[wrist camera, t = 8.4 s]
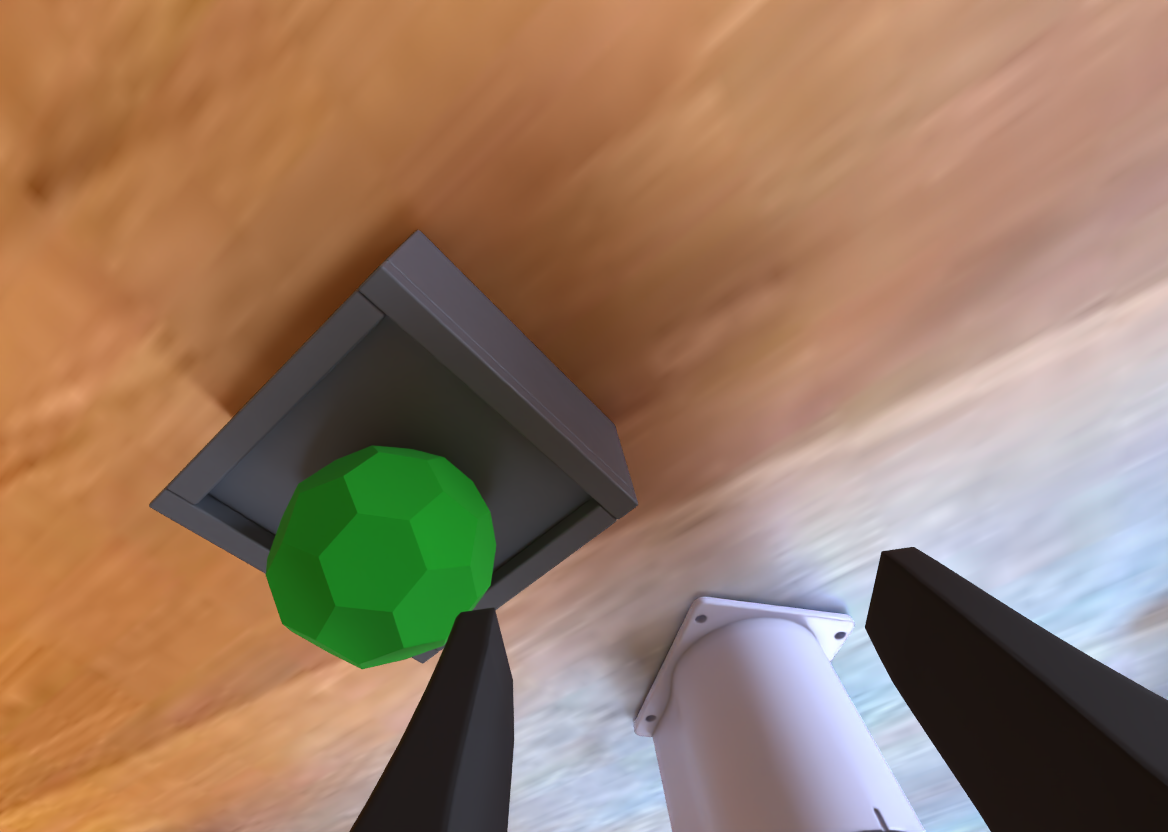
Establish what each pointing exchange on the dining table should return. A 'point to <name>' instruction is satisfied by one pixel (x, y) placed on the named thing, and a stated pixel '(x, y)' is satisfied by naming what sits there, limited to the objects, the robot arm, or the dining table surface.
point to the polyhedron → (381, 555)
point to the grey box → (417, 424)
